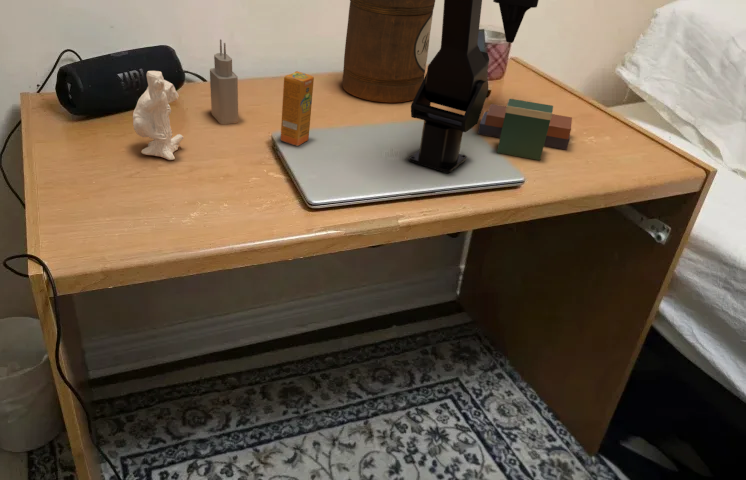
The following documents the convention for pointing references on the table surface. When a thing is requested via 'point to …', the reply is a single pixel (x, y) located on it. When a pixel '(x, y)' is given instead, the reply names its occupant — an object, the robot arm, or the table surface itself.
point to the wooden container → (387, 48)
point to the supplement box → (296, 108)
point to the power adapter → (224, 89)
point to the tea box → (524, 129)
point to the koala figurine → (157, 116)
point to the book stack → (555, 135)
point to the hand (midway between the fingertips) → (509, 42)
